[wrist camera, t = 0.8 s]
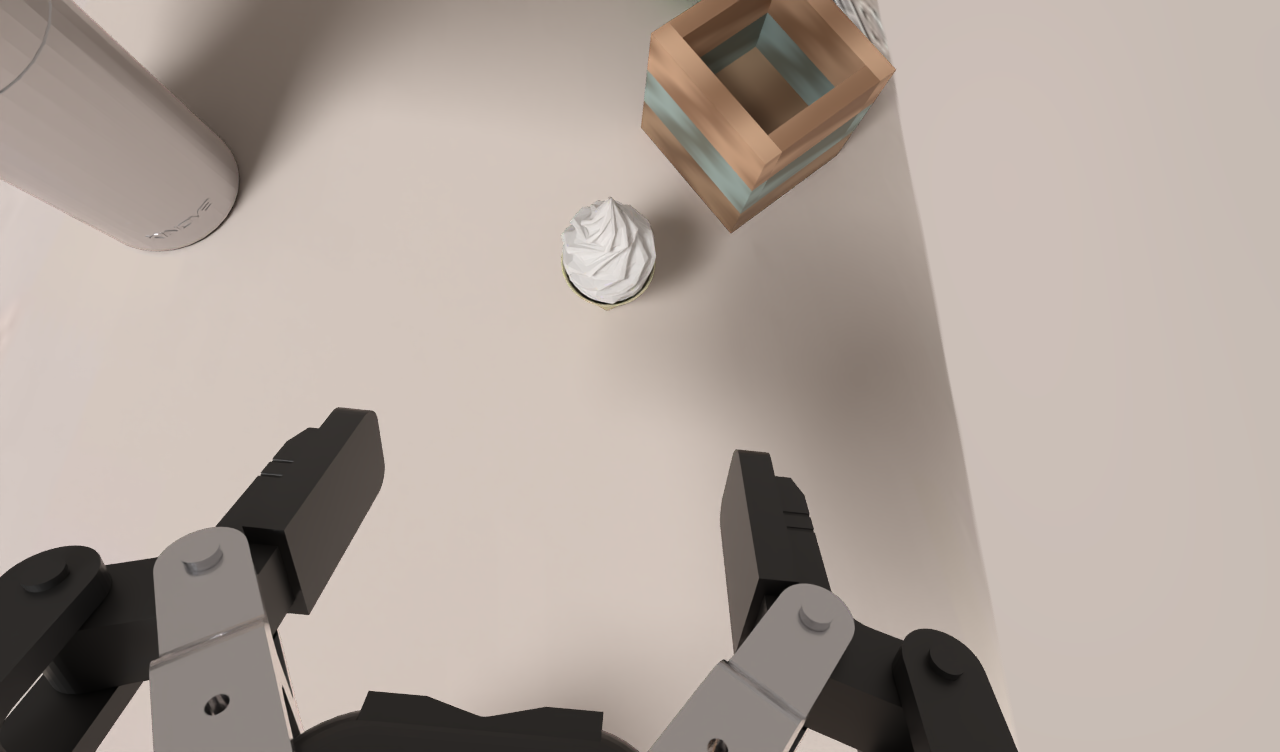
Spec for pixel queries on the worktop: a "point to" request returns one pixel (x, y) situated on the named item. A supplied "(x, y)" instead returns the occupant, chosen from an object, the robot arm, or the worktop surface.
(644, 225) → the ice cream cone
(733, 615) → the robot arm
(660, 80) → the square wooden crate
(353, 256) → the worktop surface
